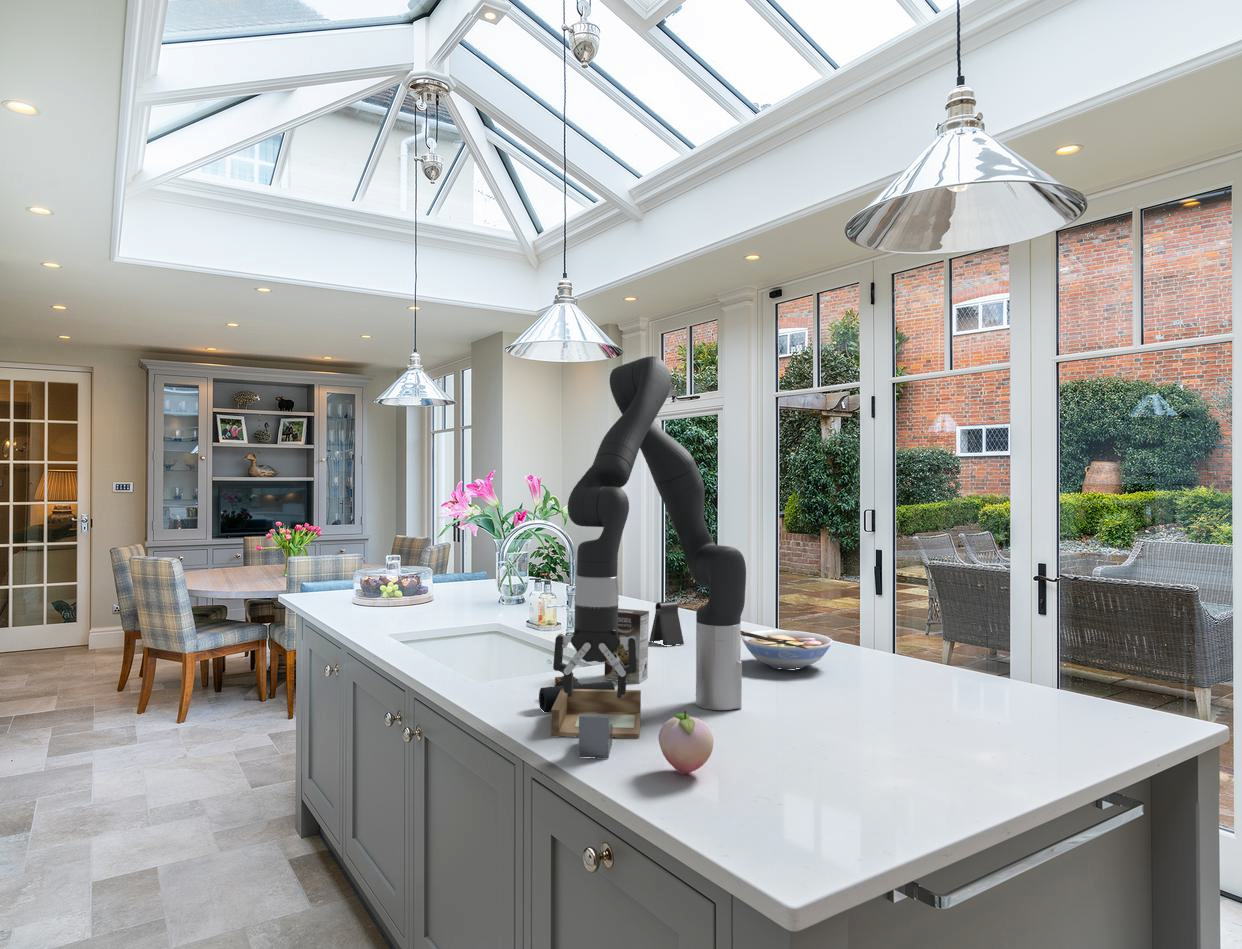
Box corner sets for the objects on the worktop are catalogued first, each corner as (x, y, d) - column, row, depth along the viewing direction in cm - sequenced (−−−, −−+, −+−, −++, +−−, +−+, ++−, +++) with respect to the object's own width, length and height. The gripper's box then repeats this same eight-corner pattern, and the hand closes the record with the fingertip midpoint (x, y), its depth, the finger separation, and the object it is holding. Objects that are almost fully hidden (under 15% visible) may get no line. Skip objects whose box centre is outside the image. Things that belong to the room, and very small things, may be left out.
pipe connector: (530, 676, 167) (596, 670, 173) (530, 701, 167) (596, 694, 173) (546, 690, 157) (616, 683, 163) (545, 717, 157) (615, 709, 163)
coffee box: (603, 679, 185) (603, 611, 185) (613, 673, 191) (614, 607, 191) (639, 683, 182) (640, 613, 182) (649, 677, 188) (649, 609, 188)
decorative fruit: (722, 782, 122) (722, 717, 122) (672, 787, 119) (673, 721, 119) (699, 761, 131) (699, 701, 131) (652, 766, 128) (653, 704, 128)
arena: (640, 714, 157) (640, 690, 157) (638, 738, 142) (639, 711, 142) (561, 712, 158) (561, 688, 158) (550, 736, 143) (551, 710, 143)
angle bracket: (612, 744, 140) (612, 704, 140) (608, 759, 132) (608, 717, 132) (584, 743, 140) (584, 703, 140) (578, 758, 132) (578, 716, 132)
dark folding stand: (684, 645, 227) (684, 603, 227) (666, 647, 223) (667, 604, 224) (666, 639, 234) (666, 599, 234) (649, 641, 231) (649, 600, 231)
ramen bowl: (855, 671, 196) (855, 638, 196) (791, 683, 183) (791, 648, 183) (782, 653, 216) (782, 623, 216) (719, 663, 203) (719, 631, 203)
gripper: (638, 600, 139) (636, 692, 139) (558, 598, 140) (556, 689, 139) (637, 606, 132) (635, 703, 131) (552, 603, 132) (550, 700, 132)
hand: (594, 696), depth 135 cm, fingers open, 8 cm apart
